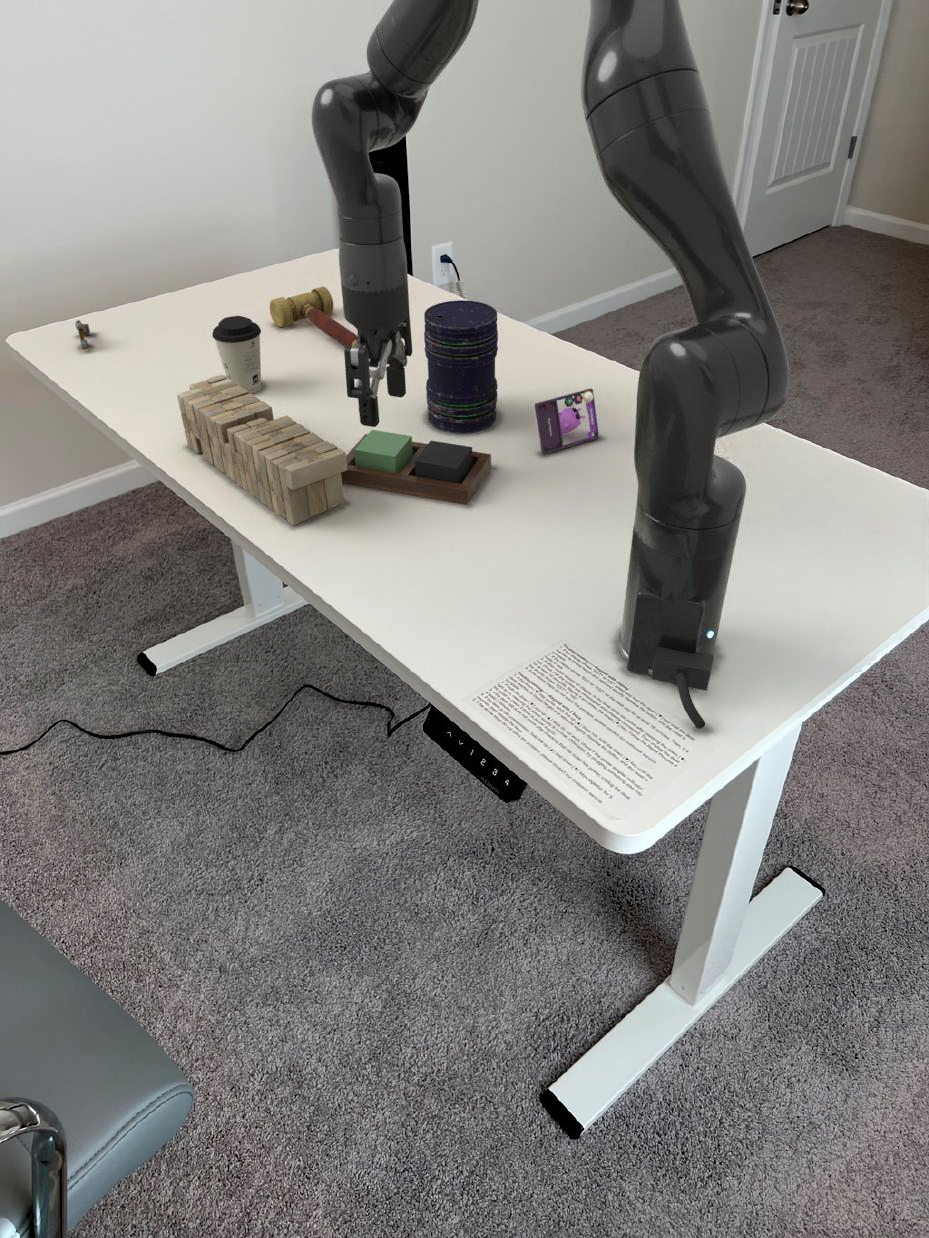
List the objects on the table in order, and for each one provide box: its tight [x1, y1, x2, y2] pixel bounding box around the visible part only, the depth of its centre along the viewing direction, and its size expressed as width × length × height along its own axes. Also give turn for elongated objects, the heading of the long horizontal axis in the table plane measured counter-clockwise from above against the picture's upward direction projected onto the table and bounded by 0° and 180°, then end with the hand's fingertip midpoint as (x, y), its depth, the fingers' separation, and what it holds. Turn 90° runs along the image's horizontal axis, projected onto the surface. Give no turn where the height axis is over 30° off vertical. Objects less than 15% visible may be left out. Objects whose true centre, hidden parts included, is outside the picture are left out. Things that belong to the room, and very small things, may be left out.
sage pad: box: [354, 429, 413, 473], centre depth 123 cm, size 6×6×3 cm
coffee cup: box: [212, 315, 262, 394], centre depth 141 cm, size 7×7×10 cm
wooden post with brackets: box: [74, 320, 91, 351], centre depth 157 cm, size 2×8×4 cm, turn 18°
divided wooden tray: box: [341, 433, 492, 506], centre depth 123 cm, size 9×18×2 cm, turn 71°
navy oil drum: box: [423, 299, 499, 435], centre depth 131 cm, size 10×10×15 cm
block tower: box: [176, 374, 347, 526], centre depth 122 cm, size 8×8×29 cm
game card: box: [534, 388, 600, 455], centre depth 129 cm, size 7×5×9 cm
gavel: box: [269, 286, 357, 348], centre depth 158 cm, size 21×5×10 cm
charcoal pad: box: [415, 440, 473, 484], centre depth 121 cm, size 6×6×3 cm
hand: (384, 409), depth 118 cm, fingers open, 8 cm apart
